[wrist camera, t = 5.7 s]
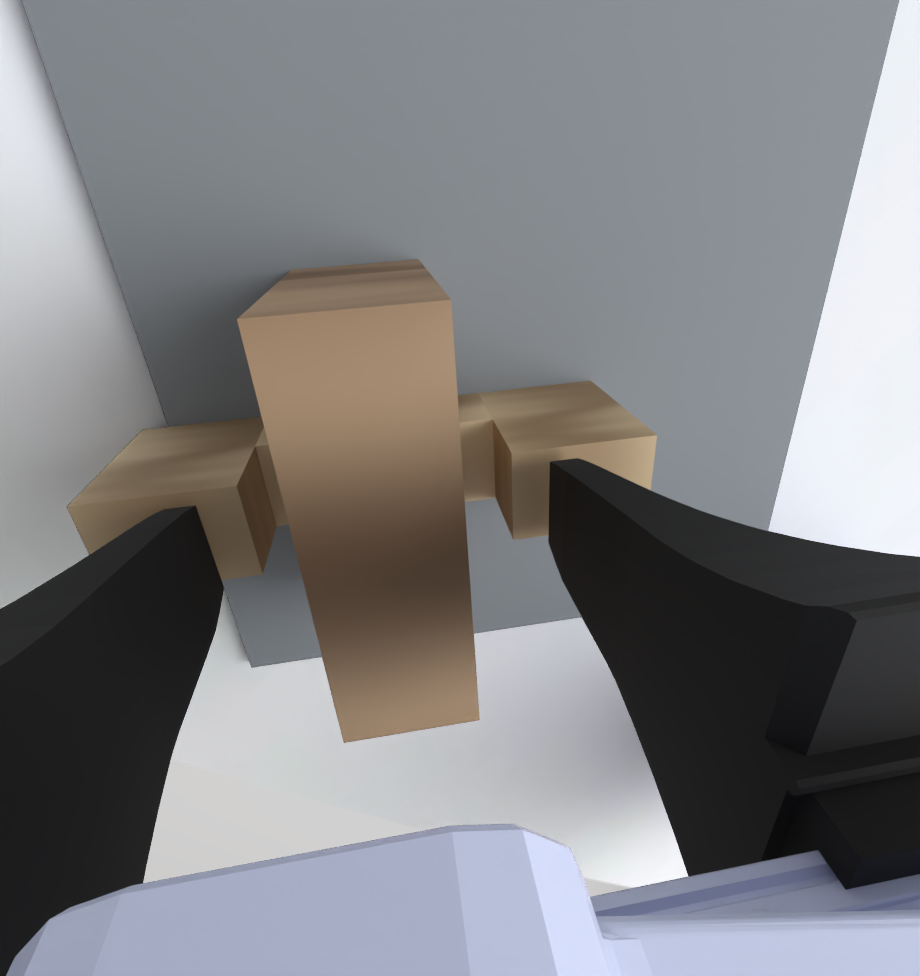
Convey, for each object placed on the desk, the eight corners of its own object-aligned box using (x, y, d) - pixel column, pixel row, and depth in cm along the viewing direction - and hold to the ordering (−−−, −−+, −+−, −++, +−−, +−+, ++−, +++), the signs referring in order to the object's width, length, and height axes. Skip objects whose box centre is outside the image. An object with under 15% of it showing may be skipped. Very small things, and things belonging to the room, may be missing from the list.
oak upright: (590, 380, 15) (656, 435, 12) (587, 452, 16) (646, 521, 13) (142, 429, 14) (66, 506, 10) (169, 503, 15) (108, 595, 12)
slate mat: (746, 583, 20) (753, 590, 20) (253, 658, 19) (251, 667, 18) (976, -382, 10) (999, -404, 9) (-112, -419, 8) (-133, -448, 8)
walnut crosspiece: (446, 562, 17) (479, 720, 12) (351, 575, 17) (343, 742, 12) (418, 259, 13) (450, 299, 8) (291, 269, 13) (236, 319, 8)
